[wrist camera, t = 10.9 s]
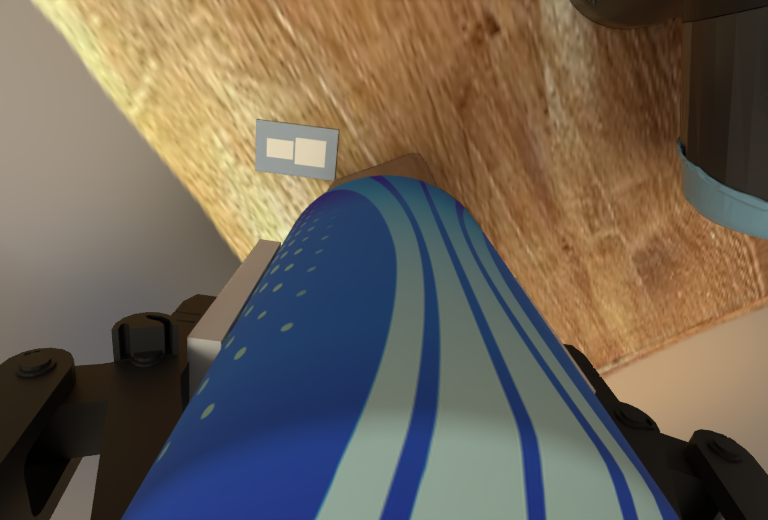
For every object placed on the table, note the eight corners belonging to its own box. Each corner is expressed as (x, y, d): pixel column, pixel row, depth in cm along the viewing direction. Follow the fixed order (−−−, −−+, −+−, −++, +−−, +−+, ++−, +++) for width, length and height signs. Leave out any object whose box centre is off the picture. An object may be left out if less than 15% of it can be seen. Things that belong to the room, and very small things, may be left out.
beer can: (317, 138, 17) (-177, 604, 2) (515, 206, 18) (1195, 835, 3) (267, 319, 20) (-70, 1045, 5) (439, 367, 21) (590, 1077, 6)
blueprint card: (338, 129, 43) (338, 130, 42) (334, 179, 45) (334, 180, 44) (257, 119, 42) (255, 119, 42) (256, 170, 44) (255, 170, 44)
